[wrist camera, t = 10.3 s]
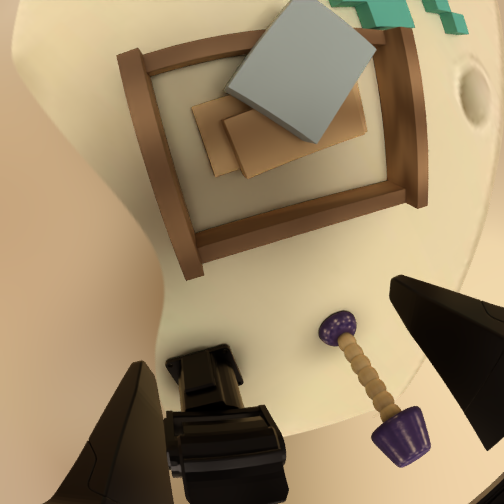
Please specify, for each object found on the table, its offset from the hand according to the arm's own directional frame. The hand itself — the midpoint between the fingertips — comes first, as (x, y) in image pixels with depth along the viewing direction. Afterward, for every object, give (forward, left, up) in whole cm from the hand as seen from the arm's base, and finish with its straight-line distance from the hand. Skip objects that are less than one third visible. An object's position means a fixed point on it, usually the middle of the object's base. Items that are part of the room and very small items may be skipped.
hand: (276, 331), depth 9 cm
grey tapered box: (+11, -9, -10) cm, 18 cm away
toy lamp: (-16, -8, -13) cm, 22 cm away
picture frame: (+4, -6, -13) cm, 15 cm away
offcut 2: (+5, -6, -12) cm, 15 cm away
